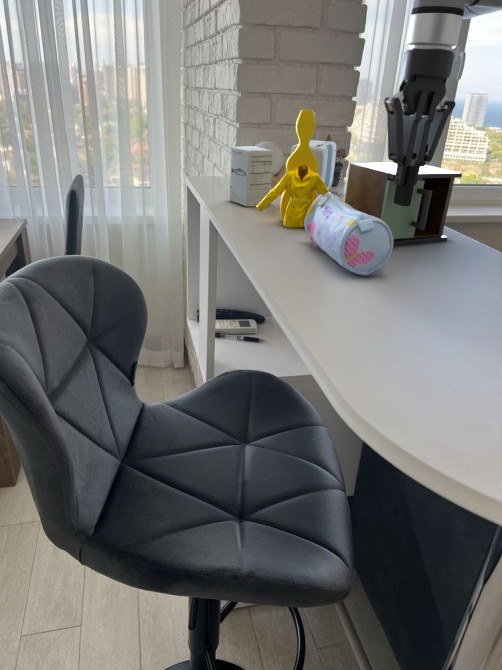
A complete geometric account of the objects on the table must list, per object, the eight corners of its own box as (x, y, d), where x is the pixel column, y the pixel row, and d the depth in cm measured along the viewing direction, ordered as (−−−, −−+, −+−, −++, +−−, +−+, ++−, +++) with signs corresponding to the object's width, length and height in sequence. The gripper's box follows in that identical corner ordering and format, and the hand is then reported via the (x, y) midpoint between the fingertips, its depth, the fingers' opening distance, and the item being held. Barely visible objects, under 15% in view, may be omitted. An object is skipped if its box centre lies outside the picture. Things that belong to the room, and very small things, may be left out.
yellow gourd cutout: (318, 204, 125) (327, 117, 116) (286, 200, 127) (293, 114, 118) (332, 191, 143) (341, 114, 134) (304, 188, 145) (311, 112, 136)
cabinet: (446, 241, 100) (462, 173, 94) (381, 246, 94) (393, 174, 88) (402, 224, 111) (413, 162, 105) (341, 228, 105) (349, 163, 99)
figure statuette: (255, 226, 102) (261, 108, 93) (255, 217, 109) (261, 106, 100) (342, 231, 102) (358, 113, 93) (337, 222, 109) (351, 111, 100)
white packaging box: (228, 201, 123) (230, 146, 118) (252, 198, 127) (255, 145, 122) (246, 207, 118) (248, 150, 113) (270, 204, 122) (274, 149, 117)
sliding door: (424, 242, 94) (437, 183, 89) (390, 245, 91) (401, 184, 86) (410, 236, 97) (421, 179, 92) (377, 239, 94) (386, 180, 89)
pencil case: (300, 241, 94) (305, 189, 90) (344, 241, 96) (351, 190, 92) (338, 280, 76) (346, 217, 72) (391, 279, 78) (403, 217, 73)
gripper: (444, 53, 83) (416, 198, 93) (380, 46, 78) (358, 201, 88) (480, 52, 77) (445, 207, 87) (413, 44, 72) (385, 210, 82)
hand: (401, 204), depth 88 cm, fingers closed
